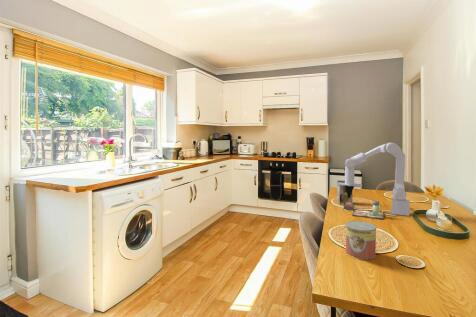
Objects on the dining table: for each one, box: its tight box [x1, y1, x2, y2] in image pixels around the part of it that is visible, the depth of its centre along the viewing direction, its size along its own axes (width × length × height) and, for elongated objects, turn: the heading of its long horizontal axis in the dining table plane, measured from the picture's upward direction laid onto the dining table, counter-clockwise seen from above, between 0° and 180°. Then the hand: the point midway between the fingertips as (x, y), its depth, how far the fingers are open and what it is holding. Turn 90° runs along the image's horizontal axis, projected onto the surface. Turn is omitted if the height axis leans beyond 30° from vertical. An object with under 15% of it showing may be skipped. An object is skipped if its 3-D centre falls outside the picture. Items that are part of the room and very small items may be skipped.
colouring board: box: [352, 209, 385, 221], centre depth 160 cm, size 16×12×1 cm
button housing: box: [343, 204, 355, 211], centre depth 174 cm, size 6×6×2 cm
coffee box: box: [336, 179, 353, 204], centre depth 189 cm, size 9×6×16 cm
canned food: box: [345, 220, 377, 261], centre depth 109 cm, size 11×11×12 cm
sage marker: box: [372, 200, 380, 215], centre depth 157 cm, size 3×3×8 cm
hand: (349, 197), depth 174 cm, fingers closed
